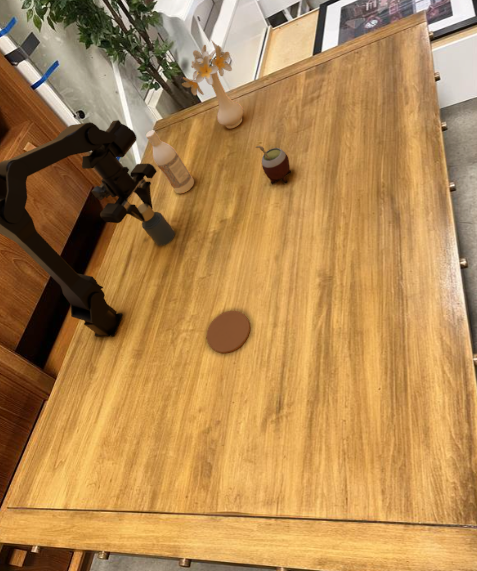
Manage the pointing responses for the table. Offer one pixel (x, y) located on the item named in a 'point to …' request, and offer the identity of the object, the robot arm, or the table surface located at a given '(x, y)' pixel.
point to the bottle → (159, 229)
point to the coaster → (228, 331)
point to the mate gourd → (275, 164)
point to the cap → (146, 211)
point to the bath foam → (170, 164)
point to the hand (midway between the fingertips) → (147, 215)
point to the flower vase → (215, 83)
